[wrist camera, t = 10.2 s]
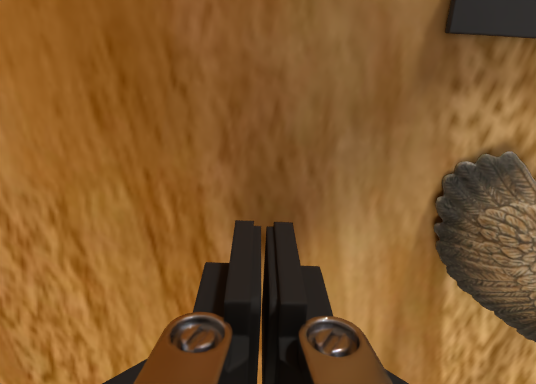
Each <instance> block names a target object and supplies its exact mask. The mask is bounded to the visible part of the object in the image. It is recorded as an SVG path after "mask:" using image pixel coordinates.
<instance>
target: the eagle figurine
mask: <svg viewBox="0 0 536 384" xmlns="http://www.w3.org/2000/svg"><path fill="white" fill-rule="evenodd" d="M442 186H443V190H444V195H443V196H442V197H438V199H437V201H436V210H437V212H438V215H439V216H440V217H441V219H442V220H443V222H442V223H436V224H435V225H434V232H435V233H436V234H437V236H438V237H439V238H440V240H439V241H437V242H436V250H437V251H438V253H439V256H440V259H441V261H442V262H443V263H444V264H445V265H446V269H447V273H448V274H449V275H450V276H451V277H452V278H453V279H455V280H456V281H457V285H458V286H459V288H461V289H462V290H463V291H465V292H467V293H469V294H471V295H472V297H473V298H474V299H475V300H476V301H477V302H479V303H480V305H482V306H483V307H485V308H486V309H488V310H491V311H494V313H495V315H496V316H497V317H499V318H500V319H502V320H503V321H504V322H505V323H506V324H507V325H509V326H511V327H513V328H516V329H517V332H518V333H519V334H521V335H523V336H524V337H525V338H527V339H529V340H533V341H535V342H536V181H535V180H534V179H533V178H532V176H531V173H530V172H529V171H528V169H527V167H526V165H525V164H524V163H523V162H522V161H521V160H520V159H519V158H518V156H517V155H516V154H515V153H513V152H505V153H503V154H502V155H501V156H500V157H495V156H492V155H489V154H483V155H481V156H480V157H479V158H478V160H477V162H476V163H475V164H474V163H471V162H468V161H465V162H460V163H458V164H457V165H456V166H455V172H454V173H453V174H448V175H446V176H444V178H443V181H442Z"/></svg>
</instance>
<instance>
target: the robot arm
mask: <svg viewBox="0 0 536 384" xmlns="http://www.w3.org/2000/svg"><path fill="white" fill-rule="evenodd" d="M260 318H261V226H254V221H240V220H236V221H235V228H234V235H233V242H232V249H231V256H230V263H212V262H206V263H205V266H204V270H203V274H202V278H201V282H200V286H199V290H198V294H197V298H196V302H195V306H194V310H193V313H187V314H185V315H182V316H179V317H177V318H176V319H174V320H173V321H171V322H170V323H169V324H168V325H167V327H166V328H165V329H164V331H163V333H162V334H161V336H160V338H159V340H158V341H157V343H156V345H155V347H154V349H153V350H152V352H151V354H150V356H149V357H148V359H146V360H144V361H142V362H141V363H139V364H137V365H135V366H133V367H132V368H130V369H128V370H126V371H124V372H123V373H121V374H119V375H117V376H115V377H114V378H112V379H110V380H108V381H106V382H105V383H103V384H257V372H258V354H259V336H260ZM262 384H408V383H407V382H405V381H404V380H402V379H400V378H399V377H397V376H395V375H394V374H392V373H391V372H389V371H387V370H386V369H384V367H383V365H382V364H381V362H380V360H379V358H378V357H377V355H376V353H375V352H374V350H373V348H372V346H371V345H370V343H369V341H368V339H367V338H366V336H365V335H364V333H363V332H362V331H361V330H360V328H358V327H357V326H356V325H354V324H353V323H351V322H349V321H347V320H345V319H342V318H338V317H334V316H333V313H332V310H331V306H330V302H329V299H328V295H327V291H326V288H325V284H324V280H323V277H322V273H321V269H320V267H318V266H300V260H299V255H298V249H297V244H296V239H295V233H294V228H293V223H289V222H274V226H273V227H268V226H267V228H266V245H265V262H264V280H263V297H262Z"/></svg>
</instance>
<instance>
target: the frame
mask: <svg viewBox="0 0 536 384" xmlns="http://www.w3.org/2000/svg"><path fill="white" fill-rule="evenodd" d="M445 33H453V34H470V35H487V36H504V37H521V38H536V0H451V4H450V9H449V15H448V20H447V25H446V30H445Z"/></svg>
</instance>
